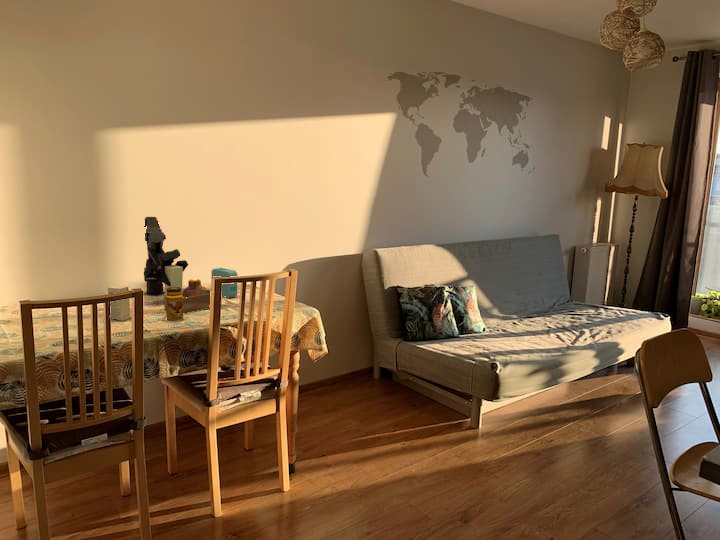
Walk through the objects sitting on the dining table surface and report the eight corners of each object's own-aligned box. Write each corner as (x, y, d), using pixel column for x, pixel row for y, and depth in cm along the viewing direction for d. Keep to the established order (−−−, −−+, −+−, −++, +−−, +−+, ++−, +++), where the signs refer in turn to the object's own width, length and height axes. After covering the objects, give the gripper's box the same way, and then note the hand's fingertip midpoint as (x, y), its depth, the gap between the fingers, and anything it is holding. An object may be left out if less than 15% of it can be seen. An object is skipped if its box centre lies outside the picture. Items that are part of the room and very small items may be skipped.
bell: (176, 297, 258) (175, 280, 256) (191, 291, 269) (191, 276, 268) (199, 299, 254) (199, 283, 253) (214, 294, 266) (213, 278, 264)
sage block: (164, 299, 244) (165, 266, 242) (174, 297, 248) (175, 265, 246) (171, 301, 241) (172, 268, 239) (182, 300, 245) (182, 267, 243)
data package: (237, 297, 260) (237, 270, 258) (229, 298, 257) (229, 272, 255) (219, 293, 267) (219, 267, 265) (211, 294, 263) (211, 268, 261)
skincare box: (130, 318, 220) (129, 286, 218) (122, 321, 216) (121, 288, 214) (116, 316, 222) (115, 284, 220) (108, 319, 218) (107, 286, 216)
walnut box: (164, 310, 234) (163, 295, 233) (202, 302, 249) (202, 288, 248) (180, 314, 228) (180, 299, 227) (218, 306, 243) (218, 291, 242)
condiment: (176, 322, 217) (176, 290, 215) (157, 320, 219) (156, 288, 217) (188, 317, 224) (187, 287, 221) (169, 315, 226) (168, 285, 224)
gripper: (146, 245, 235) (164, 276, 231) (185, 241, 250) (202, 270, 246) (135, 262, 241) (153, 292, 237) (173, 257, 256) (190, 285, 252)
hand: (175, 284), depth 243 cm, fingers closed on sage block, 5 cm apart
